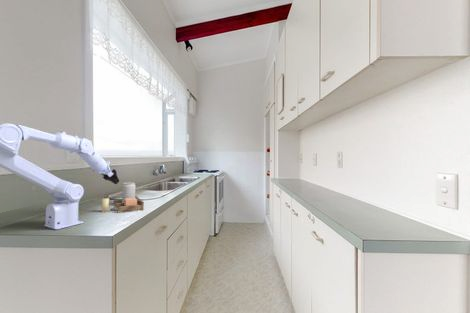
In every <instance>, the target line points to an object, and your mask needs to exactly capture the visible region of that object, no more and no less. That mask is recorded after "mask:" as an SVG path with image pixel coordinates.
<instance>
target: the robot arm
mask: <svg viewBox="0 0 470 313" xmlns="http://www.w3.org/2000/svg"><path fill="white" fill-rule="evenodd" d="M26 140H31V141H38V142H43V143H48V144H49V145H50V146H51V147H52V148H55V149H60V150H65V151H69V152H71V153H76V154H77V155H78V156H79V157H80V158H81V159H82V160H83V161H84V162H85V163H86V164H87V165H88V166H89V167H90V168H92V170H93V172H95V173H96V174H99V175H102V178H103V179H104V180H105V181H109V182H111V183H113V184H114V185H117V184H119V183H120V179H119V177H118V175H117V170H116V169H114V168H113V169H111V167H110V164H111V161H110V160H106V161H105V159H104V158H103V157H102V156H101V155H100V154H99V152H98V151H97V150H96V149H95V147H93V142H92V140H91V139H90V140H89V139H87V138H86V137H78V135H76V134H75V135H74V134H73V135H70V134H67V132H65V131H59V132H54V133H49V132H46V131H42V130H39V129H36V128H32V127H29V126H27V125H26V126H25V125H19V124H13V123H6V122H5V123H0V168H2V169H4V170H5V171H8V172H9V173H12V174H15V175H16V176H18V177H20V178H23V179H25V180H26V181H29V182H30V183H32V184H35V185H37V186H39V187H41V188H43V189H45V191H46V192H47V193H49V194H50V196H51V197H52V198H53V199H54V200H53V201H54V202H51V203H49V204H47V206H46V207H45V219H44V220H45V223H44V225H43V227H46V228H49V229H53V230H60V229H61V230H62V229H63V228H69V227H73V226H77V225H81V224H84V221H82V220H79V203H80V201H81V199H82V197H83V196H84V192H85V189H84V187H83V186H82V185H81V184H79V183H72V182H71V181H67V180H64V179H61V178H59V177H57V176H56V175H54V174H52V173H50V172H49V171H47V170H45V169H43V168H41V167H40V166H38V165H36V164H35V163H32V162H30V161H29V160H27V159H25V158H24V157H22V156H20V155H19V149H20V146H21V143H22V141H26Z"/></svg>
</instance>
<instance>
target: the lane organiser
mask: <svg viewBox="0 0 470 313" xmlns="http://www.w3.org/2000/svg"><path fill="white" fill-rule="evenodd" d="M135 198H136V199H137V205H132V206H124V203H122V199H113V201H112V202H113V203H112V205H113V206H115V208H118V210H117V213H129V212H138V210H140V211H144V207H145V206H144V205H145V202H144V201H143V200H142V199H140V197H139V196H137V195H135Z"/></svg>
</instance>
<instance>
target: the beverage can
mask: <svg viewBox="0 0 470 313" xmlns="http://www.w3.org/2000/svg"><path fill="white" fill-rule="evenodd" d="M121 188H122V190H121V200H122V203H124V199H125V198H135V196H136V189H137V188H136V183H135V182H123V183H122V187H121Z"/></svg>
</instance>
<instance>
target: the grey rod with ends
mask: <svg viewBox="0 0 470 313" xmlns="http://www.w3.org/2000/svg"><path fill="white" fill-rule="evenodd" d="M132 205H137V199H136V198H125V199H124V206H132ZM109 211H110V212H115V211H117V212H118V208H116V207H115V208H114V207H112V208H110V198H109V197H105V198H101V213H109Z"/></svg>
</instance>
